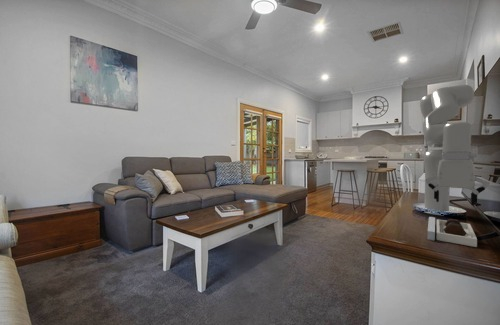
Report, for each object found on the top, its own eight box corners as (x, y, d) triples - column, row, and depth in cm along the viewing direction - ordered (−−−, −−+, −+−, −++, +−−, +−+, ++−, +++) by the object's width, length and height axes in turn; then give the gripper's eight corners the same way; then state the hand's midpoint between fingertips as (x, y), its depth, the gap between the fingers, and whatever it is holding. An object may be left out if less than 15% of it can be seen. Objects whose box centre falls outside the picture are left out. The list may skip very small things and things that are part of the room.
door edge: (428, 223, 96) (429, 216, 96) (434, 224, 95) (435, 217, 95) (427, 239, 80) (427, 230, 79) (434, 240, 78) (434, 232, 78)
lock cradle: (436, 225, 94) (436, 219, 94) (469, 230, 88) (470, 223, 87) (436, 239, 79) (436, 232, 79) (476, 247, 72) (477, 239, 72)
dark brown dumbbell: (455, 232, 88) (457, 243, 77) (440, 224, 91) (440, 233, 80) (465, 221, 87) (469, 230, 75) (450, 213, 89) (452, 220, 78)
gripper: (488, 156, 79) (486, 203, 81) (426, 156, 90) (425, 198, 92) (492, 157, 74) (490, 208, 75) (425, 157, 85) (424, 201, 86)
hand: (454, 202), depth 83 cm, fingers open, 9 cm apart
